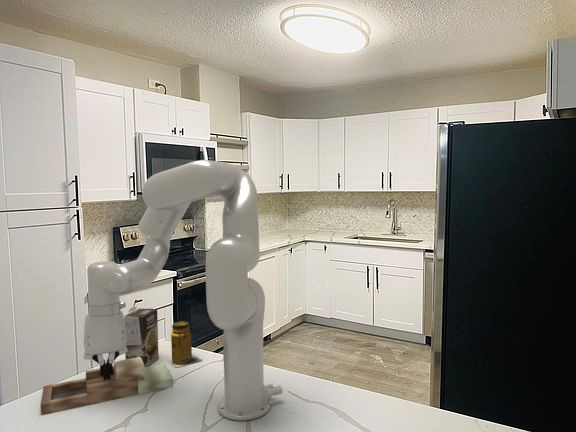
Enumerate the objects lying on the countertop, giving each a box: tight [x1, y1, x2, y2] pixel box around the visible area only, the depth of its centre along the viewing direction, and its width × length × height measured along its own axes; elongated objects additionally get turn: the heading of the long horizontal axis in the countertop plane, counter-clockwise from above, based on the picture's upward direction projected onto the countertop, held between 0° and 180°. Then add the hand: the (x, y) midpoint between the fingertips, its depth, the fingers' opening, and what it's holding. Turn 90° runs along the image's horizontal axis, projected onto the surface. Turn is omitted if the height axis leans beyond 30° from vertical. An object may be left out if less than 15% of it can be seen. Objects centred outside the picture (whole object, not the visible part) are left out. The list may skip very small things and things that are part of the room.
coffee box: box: [124, 308, 160, 367], centre depth 131 cm, size 9×6×16 cm
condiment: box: [167, 320, 202, 368], centre depth 133 cm, size 7×8×12 cm
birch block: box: [113, 357, 145, 380], centre depth 116 cm, size 7×6×4 cm
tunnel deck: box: [40, 363, 174, 416], centre depth 113 cm, size 31×11×4 cm, turn 117°
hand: (106, 377), depth 113 cm, fingers closed
